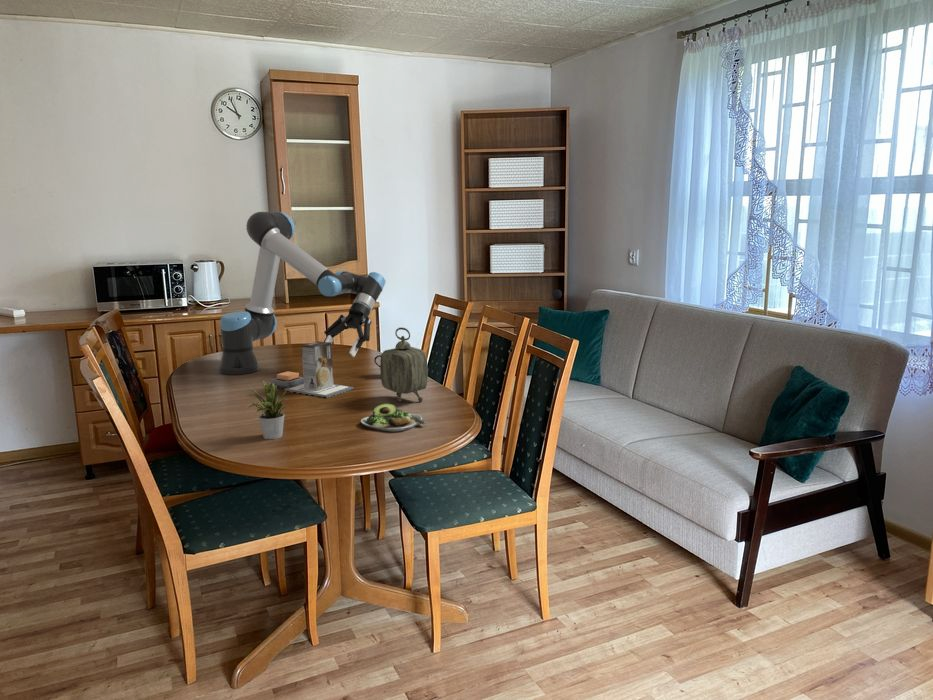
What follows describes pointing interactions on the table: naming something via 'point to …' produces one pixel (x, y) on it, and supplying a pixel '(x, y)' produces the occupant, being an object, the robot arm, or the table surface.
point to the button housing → (287, 382)
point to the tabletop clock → (404, 368)
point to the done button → (287, 375)
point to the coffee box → (317, 365)
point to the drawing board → (323, 393)
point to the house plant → (270, 412)
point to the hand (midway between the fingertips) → (337, 353)
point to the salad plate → (391, 419)
